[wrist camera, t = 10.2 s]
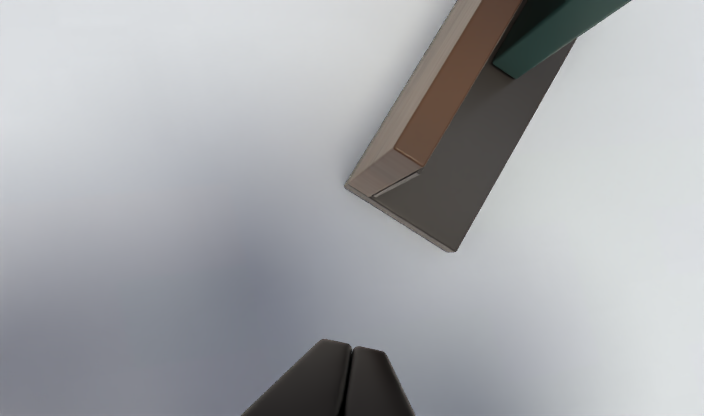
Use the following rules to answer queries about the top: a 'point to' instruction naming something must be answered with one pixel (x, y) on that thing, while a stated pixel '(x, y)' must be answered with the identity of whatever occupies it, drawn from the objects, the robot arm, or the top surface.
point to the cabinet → (453, 125)
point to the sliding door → (549, 30)
